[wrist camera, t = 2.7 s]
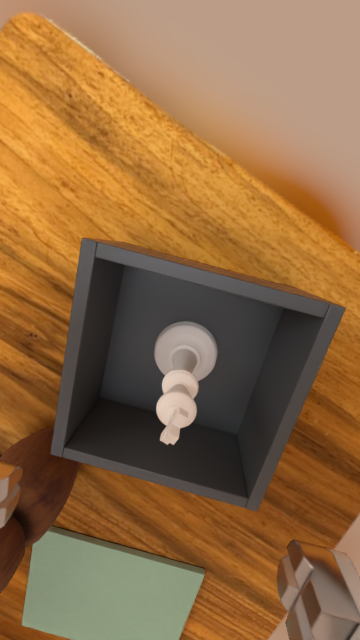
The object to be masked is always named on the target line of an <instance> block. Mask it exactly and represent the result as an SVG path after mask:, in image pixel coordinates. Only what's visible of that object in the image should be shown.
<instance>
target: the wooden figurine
mask: <svg viewBox="0 0 360 640" xmlns="http://www.w3.org/2000/svg"><path fill="white" fill-rule="evenodd" d="M53 433H54V429H48V428H47V429H44V430H41V431H39V432H37V433H34V434H32V435H30V436H28V437H26V438H24V439H22V440H20V441H19V442H17V443H16V444H14V445H13V446H11V447H10V448H9V449H8V450H7V451H6V452H5V453H4V454H3V455H2V456H1V458H0V461H3V462H7V463H10V464H13V465H17V466H20V467H22V468H23V476H22V478H21V479H20V480H19V482H18V484H19V486H20V488H21V493H20V497H19V500H18V503H17V505H16V507H15V509H14V511H13V513H12V515H11V517H10V518H9V520H8V521H7V522H6V524H5V525H4V526H3V527H2V528H0V593H1V592H2V591H3V590H4V588H5V587H6V586H7V584H8V583H9V581H10V580H11V578H12V576H13V575H14V573H15V571H16V569H17V568H18V566H19V564H20V562H21V560H22V558H23V556H24V552H25V548H26V547H28V546H30V545H31V544H33V543H35V542H37V541H39V540H40V539H41V537H42V536H43V535H44V534H45V533H46V532H47V531H48V530H49V528H50V527H51V525H52V524H53V522H54V521H55V519H56V518H57V516H58V515H59V513H60V512H61V510H62V508H63V506H64V505H65V503H66V501H67V499H68V497H69V494H70V492H71V490H72V487H73V484H74V481H75V478H76V475H77V472H78V468H79V464H80V462H78V461H74V460H71V459H67V458H64V457H63V456H62V457H59V456H55V455H52V454H50V453H51V446H52V440H53Z"/></svg>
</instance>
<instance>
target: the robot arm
mask: <svg viewBox="0 0 360 640" xmlns="http://www.w3.org/2000/svg"><path fill="white" fill-rule="evenodd" d="M22 476H23V468H22V467H20V466H17V465H13V464H10V463H7V462H3V461H0V528H2V527H3V526H4V525H5V524H6V522H7V521H8V520H9V518H10V517H11V515H12V513H13V511H14V509H15V507H16V505H17V503H18V500H19V497H20V493H21V488H20V486H19V484H18V482H19V480H20V479H21V478H22ZM287 550H288V553H289V555H287V556H285V557H283V558H282V559H281V561H280V563H279V566H278V571H277V586H278V592H279V597H280V601H281V602H282V604H283V606H284V607H285V609H286V610H287V612H288V616H287V620H286V627H287V631H288V636H289V640H360V577H359V575H358V573H357V571H356V568H355V567H354V564H353V562H352V561H351V559H350V557H349V556H348V555H347V554H346V553H343V552H339V551H336V550H332V549H328V548H326V547H322V546H318V545H314V544H310V543H306V542H302V541H298V540H292V541H290V543H289V545H288V547H287Z"/></svg>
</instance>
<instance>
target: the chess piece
mask: <svg viewBox="0 0 360 640" xmlns="http://www.w3.org/2000/svg"><path fill="white" fill-rule="evenodd" d="M217 355H218V349H217V344H216V341H215V339H214V337H213V335H212V334H211V333H210V332H209V331H208V330H207V329H206V328H205V327H203V326H202V325H200V324H197V323H194V322H189V321H182V322H176V323H173V324H171V325H169V326H168V327H166V328H165V329H164V330H163V331H162V332H161V333H160V334H159V336H158V338H157V340H156V343H155V349H154V356H155V361H156V364H157V366H158V368H159V369H160V371H161V372H162V373H163V374H164V375H165V377H164V379H163V381H162V390H163V393H164V394H163V395H162V396H161V397H160V399H159V400H158V402H157V406H156V412H157V416H158V418H159V419H160V421H161V422H162V423H163V424H165V425H166V427H165V429H164V430H163V432H162V433H161V436H160V441H162V442H164V443H165V444H167V445H168V444H169V443H171V444H172V445H174V444H175V443H176V441H177V440H178V439H179V433H180V428H183V427H186V426H188V425H190V424H191V423H192V422H193V421H194V419H195V417H196V413H197V408H196V404H195V401H194V400H193V399H194V397H195V396H196V395H197V392H198V389H199V385H198V381H199V380H202V379H203V378H205V377H206V376H207V375H208V374H209V373H210V372H211V371H212V370H213V368H214V366H215V363H216V360H217Z"/></svg>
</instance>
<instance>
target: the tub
mask: <svg viewBox="0 0 360 640" xmlns="http://www.w3.org/2000/svg"><path fill="white" fill-rule="evenodd" d="M344 311H345V307H343V306H340V305H338V304H335V303H333V302H330V301H328V300H325V299H323V298H320V297H318V296H315V295H313V294H310V293H307V292H305V291H302V290H300V289H297V288H293V287H290V286H286V285H282V284H278V283H275V282H271V281H267V280H263V279H260V278H256V277H252V276H248V275H244V274H241V273H237V272H233V271H229V270H226V269H222V268H218V267H214V266H211V265H207V264H203V263H199V262H195V261H192V260H188V259H184V258H180V257H177V256H173V255H169V254H165V253H162V252H158V251H154V250H150V249H146V248H143V247H139V246H135V245H131V244H128V243H124V242H117V241H108V240H99V239H90V238H82V242H81V249H80V256H79V263H78V270H77V276H76V283H75V290H74V297H73V304H72V310H71V317H70V324H69V331H68V338H67V344H66V351H65V358H64V365H63V372H62V378H61V385H60V392H59V399H58V406H57V412H56V419H55V426H54V433H53V440H52V446H51V453H50V454H52V455H55V456H59V457H62V456H63V457H64V458H67V459H71V460H74V461H78V462H81V463H85V464H89V465H92V466H96V467H99V468H103V469H107V470H110V471H114V472H117V473H121V474H125V475H128V476H132V477H135V478H139V479H143V480H146V481H150V482H153V483H157V484H161V485H164V486H168V487H171V488H175V489H179V490H182V491H186V492H189V493H193V494H197V495H200V496H204V497H208V498H211V499H215V500H218V501H222V502H226V503H229V504H233V505H236V506H240V507H245V508H246V509H250V510H254V511H257V510H258V508H259V506H260V503H261V501H262V499H263V497H264V494H265V492H266V490H267V487H268V485H269V483H270V481H271V478H272V476H273V474H274V471H275V469H276V467H277V465H278V462H279V460H280V458H281V455H282V453H283V451H284V449H285V446H286V444H287V442H288V439H289V437H290V435H291V432H292V430H293V428H294V426H295V423H296V421H297V419H298V416H299V414H300V412H301V410H302V407H303V405H304V403H305V400H306V398H307V396H308V394H309V391H310V389H311V387H312V384H313V382H314V380H315V378H316V375H317V373H318V371H319V368H320V366H321V364H322V361H323V359H324V357H325V355H326V352H327V350H328V348H329V345H330V343H331V341H332V339H333V336H334V334H335V332H336V329H337V327H338V325H339V323H340V320H341V318H342V316H343V313H344ZM182 321H189V322H194V323H197V324H200V325H202V326H203V327H205V328H206V329H207V330H208V331H209V332H210V333H211V334H212V335H213V337H214V339H215V341H216V344H217V349H218V355H217V360H216V363H215V366H214V368H213V370H212V371H211V372H210V373H209V374H208V375H207V376H206V377H205V378H203V379H202V380H199V381H198V385H199V389H198V392H197V395H196V396H195V397H194V399H193V400H194V401H195V404H196V408H197V413H196V417H195V419H194V421H193V422H192V423H191V424H190V425H188V426H186V427H183V428H180V433H179V439H178V440H177V441H176V443H175V444H174V445H172V444H171V443H169V444H168V445H167V444H165V443H164V442H162V441H160V436H161V433H162V432H163V430H164V429H165V427H166V425H165V424H163V423H162V422H161V421H160V419H159V418H158V416H157V412H156V406H157V402H158V400H159V399H160V397H161V396H162V395H163V394H164V393H163V390H162V381H163V379H164V377H165V375H164V374H163V373H162V372H161V371H160V369H159V368H158V366H157V364H156V361H155V356H154V349H155V343H156V340H157V338H158V336H159V334H160V333H161V332H162V331H163V330H164V329H165V328H166V327H168V326H169V325H171V324H173V323H176V322H182Z"/></svg>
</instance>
